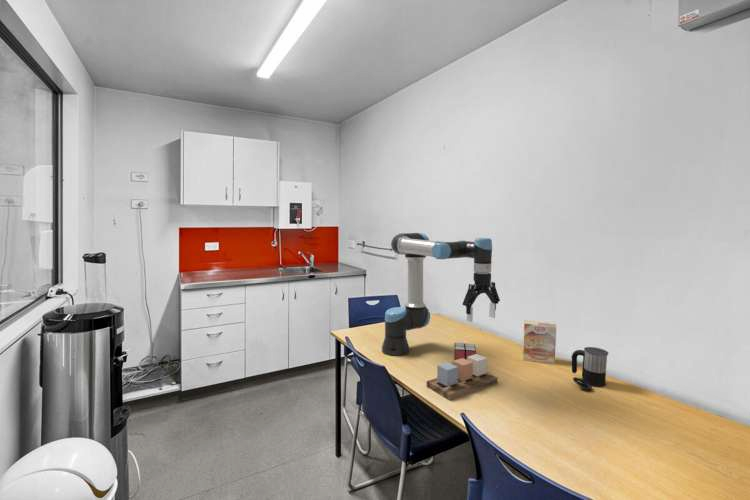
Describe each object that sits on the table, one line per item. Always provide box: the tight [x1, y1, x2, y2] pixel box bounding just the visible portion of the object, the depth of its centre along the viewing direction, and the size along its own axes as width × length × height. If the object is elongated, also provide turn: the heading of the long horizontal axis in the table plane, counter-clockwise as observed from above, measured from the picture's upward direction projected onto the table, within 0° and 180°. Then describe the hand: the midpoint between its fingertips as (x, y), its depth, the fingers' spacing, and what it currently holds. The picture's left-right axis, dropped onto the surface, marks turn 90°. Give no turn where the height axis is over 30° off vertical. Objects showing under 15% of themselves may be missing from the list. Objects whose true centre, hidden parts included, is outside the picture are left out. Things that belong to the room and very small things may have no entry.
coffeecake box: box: [522, 319, 557, 365], centre depth 186 cm, size 15×7×20 cm, turn 68°
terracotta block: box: [452, 358, 474, 382], centre depth 159 cm, size 6×6×7 cm
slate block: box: [436, 361, 459, 387], centre depth 154 cm, size 6×6×7 cm
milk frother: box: [571, 346, 609, 391], centre depth 158 cm, size 14×16×15 cm
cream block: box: [467, 353, 488, 377], centre depth 163 cm, size 6×6×7 cm
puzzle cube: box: [453, 342, 477, 361], centre depth 179 cm, size 10×10×10 cm
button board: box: [426, 372, 498, 401], centre depth 159 cm, size 14×29×2 cm, turn 122°
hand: (481, 319), depth 163 cm, fingers open, 13 cm apart
